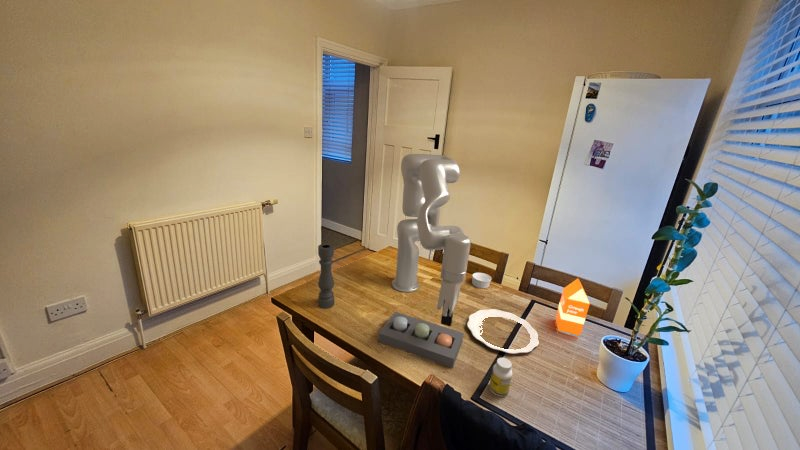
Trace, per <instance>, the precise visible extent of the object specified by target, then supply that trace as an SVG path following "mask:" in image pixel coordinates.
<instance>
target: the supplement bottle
mask: <svg viewBox="0 0 800 450" xmlns="http://www.w3.org/2000/svg"><path fill="white" fill-rule="evenodd" d="M512 366H513V365H512V362H511V361H510V359H508V358H506V357H499V358H497V360H496V363H495V364H494V365H493V366H492V370H491V375H490V376H491V377H490V381H489V385H488V386H489V390H490V392H491V393H492V394H493V395H495V396H496V395H497V396H496V397H499V398H504V397H506V396H507V395H508V394H509V391H510V388H511V382H512V379H513V370H512Z"/></svg>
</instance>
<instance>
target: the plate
mask: <svg viewBox="0 0 800 450" xmlns="http://www.w3.org/2000/svg"><path fill="white" fill-rule="evenodd" d="M488 317H503V318H507V319H511V320H514V321H516V322H518V323H520V324H522V325H523V326H524V327H525V328H526V329H527V331H528V333H529V334H530V338H531V339H530V343H529V344H528V345H527V346H526V347H524V348H521V349H516V350H514V349H504V348H500V347H497V346H494V345H492V344H490V343H488V342H486V341H485V340H484V339H483V338H482V337H481V336H480V335H482V333H483V330H482V329H483V328H482V326H481V325H483V324H482V323H483V322H482V321H483V320H484V319H485V318H488ZM484 321H485V320H484ZM466 325H467V329H468V330H469V331H470V332H471V334H472V337H473V338H474V339H475V340H477V341H479V342H481V343H482V344H484V345H485V346H487V348H490V349H491V350H492V349H493V350H495V351H500V352H502V353H506V354H511V355H515V354H520V353H521V354H527V353H528V354H529V353H531V352H532V351H533V349H534V348H536V347H538V346H539V342H540V340H539V339H538V337H539V334H538V332H537V330H536V329H534V328H533V327H532V326H531V324H530V322H528V321H527V320H525V319H524V318H521V317H519V316H517V315H516V314H514V313H511V312H509V311H504V310H500V309H495V308H492V309H491V308H489V309H480V310H476V312H474V313H471V314H470V315H469V316H468V321H467V323H466ZM479 326H481V328H480V327H479ZM480 330H482V332H481V333H480Z"/></svg>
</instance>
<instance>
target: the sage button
mask: <svg viewBox="0 0 800 450" xmlns="http://www.w3.org/2000/svg"><path fill="white" fill-rule="evenodd" d="M428 336H429V326H428V325H426V324H424V323H419V324H417V325H416V326H415V337H417V338H420V339H423V340H424V339H427V338H428Z"/></svg>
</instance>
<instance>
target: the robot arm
mask: <svg viewBox="0 0 800 450" xmlns="http://www.w3.org/2000/svg"><path fill="white" fill-rule="evenodd" d="M400 170H401V171H400V172H401V176H402V179H403V191H402V207H401V208H402V214H404V216H406V217H407V218H405V219H402V220H400V221H399V222H398V223H397V226H396V227H397V228H396V230H397V231H396V233H397V254H396V255H397V257H396V258H397V259H396V270H395V278H394V279H393V280H392V281H391V286H392V287H393V289H395V291H400V292H401V293H403V292H404V293H411V292H416V291H418V289H419V288H420V282H419V281H418V280H417V279H418V277H417V276H418V270H419V268H418V267H419V260H420V259H419V258H420V256H419V255H420V249H419V247H418V245H417V243H415V242H420V244H421V246H422V248H423V249H425V250H426V251H439V250H443V254H442V262H441V270H440V278H441V280H442V281H441V285H440V289H439V294H438V301H437V305H436V309H437V310H441V309H442V312H441V319H440V324H441V325H443V326H445V327H451V325H452V322H453V318H454V317H453V316H454V309H455V307H456V305H457V302H458V301H459V297H460V293H461V285H462V284H463V283H464V282H465V281H466V277H467V276H466V275H467V271H468V270H467V269H468V263H469V257H470V251H471V250H470V249H471V244H472V243H471V241H472V240H471V239H470V237H469V236H468V235H466V234H465V232H464V231H463V229H462V228H461V227H460V226H458V225H439V220H440V214H441V213H440V211H441V207H442V206H444V205H445V204H447V203H448V202H449V201H450V198H451V194H450V191H449V190H450V189H449V187H448V184H454V183H456V182H458V180H459V179H460V176H461V175H460V174H461V172H460V166H459V164H458V163H457V161H456V160H454V159H453V158H451V157H448V156H446V155H441V154H425V153H410V154H406V155H404V156H403V157H402V159H401V164H400ZM408 217H410V218H408Z"/></svg>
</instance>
